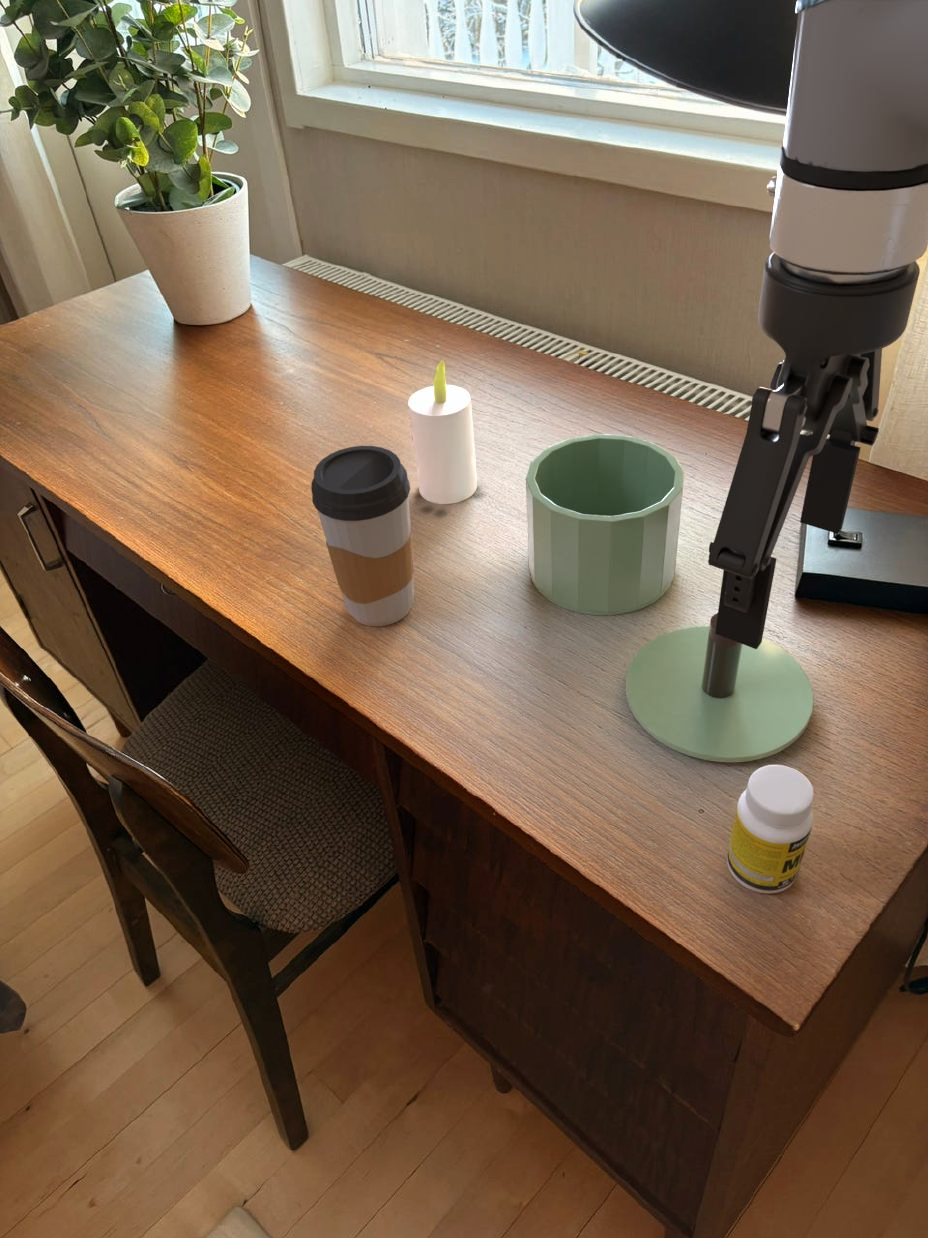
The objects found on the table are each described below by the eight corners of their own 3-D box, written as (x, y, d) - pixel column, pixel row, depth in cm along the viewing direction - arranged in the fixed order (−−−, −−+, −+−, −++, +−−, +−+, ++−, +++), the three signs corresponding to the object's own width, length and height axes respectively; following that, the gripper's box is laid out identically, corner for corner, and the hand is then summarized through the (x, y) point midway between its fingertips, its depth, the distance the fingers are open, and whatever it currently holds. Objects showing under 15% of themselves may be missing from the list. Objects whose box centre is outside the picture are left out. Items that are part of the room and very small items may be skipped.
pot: (698, 551, 90) (709, 457, 83) (632, 634, 83) (638, 538, 76) (575, 511, 97) (575, 421, 90) (502, 584, 89) (497, 492, 82)
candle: (435, 465, 105) (421, 339, 95) (487, 478, 102) (478, 349, 92) (406, 495, 101) (389, 367, 91) (459, 509, 98) (447, 378, 88)
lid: (837, 674, 77) (857, 599, 72) (769, 797, 69) (787, 722, 63) (673, 615, 84) (680, 541, 79) (592, 719, 76) (595, 645, 70)
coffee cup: (442, 591, 89) (426, 454, 79) (393, 646, 84) (369, 507, 74) (369, 568, 92) (345, 434, 82) (318, 619, 87) (286, 483, 77)
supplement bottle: (785, 907, 62) (807, 832, 57) (716, 877, 64) (730, 801, 59) (806, 853, 65) (829, 776, 59) (740, 826, 67) (756, 749, 61)
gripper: (855, 173, 57) (799, 472, 71) (660, 337, 43) (639, 670, 57) (988, 189, 53) (902, 500, 67) (824, 373, 39) (758, 720, 53)
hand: (781, 578), depth 62 cm, fingers open, 13 cm apart
